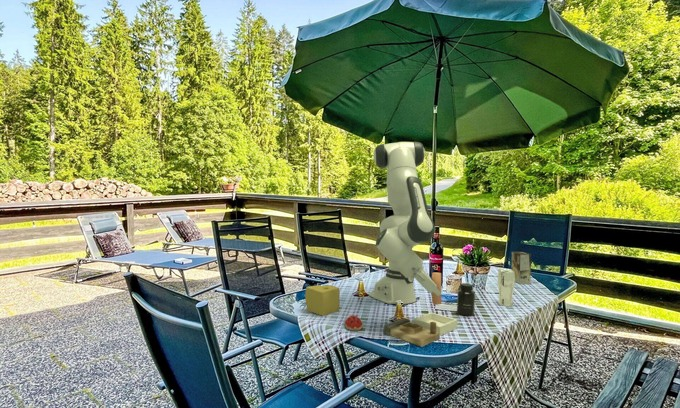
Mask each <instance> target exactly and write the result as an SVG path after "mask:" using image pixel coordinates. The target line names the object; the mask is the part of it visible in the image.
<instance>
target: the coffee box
mask: <svg viewBox="0 0 680 408" xmlns="http://www.w3.org/2000/svg"><path fill="white" fill-rule="evenodd" d="M531 261H532V254H531V253H527V252H524V251H511V264H510V265H511V269H510V270H513V271H514V274H515V283H517V284H519V285H529V284H530V285H531V271H532V270H531V267H532V266H531V265H532V264H531V263H532V262H531Z"/></svg>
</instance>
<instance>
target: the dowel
mask: <svg viewBox="0 0 680 408" xmlns="http://www.w3.org/2000/svg"><path fill="white" fill-rule="evenodd" d="M431 279H432V280H433V281H434V283H435V284H436V285H437V289H438V290H439V291H440V292H441V294H440V295H439V296H437V295H436V294H435V293H434V292H431V295H432V296H431V303H432V304H433V305H441V304H442V272H431Z"/></svg>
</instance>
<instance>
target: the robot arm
mask: <svg viewBox="0 0 680 408" xmlns="http://www.w3.org/2000/svg"><path fill="white" fill-rule="evenodd" d="M372 156H373V161H374V164H375V166H376V167H378V168H380V169H387V173H386V191H387V192H386V193H387V203H388V204H389V206H390V207H391V208H392V211H393V215H390V216H388V217H386V218H384V219H383V220H381V223H380V224H379V232H380V234H378V236H377V238H376V240H375V246H376V248H377V250H378V251H379V252H380V253H381V255H382V256H384V258H385V259H387V261H388V268H386V269H384V270H383V272H384V273H385V276H383V277H381V279H379V280H377V281H376V283H375V284H374V288H373V291H371V292H369V294H368V296H369V297H372V298H373V299H376V300H379V301H380V302H383V303H386V304H396V303H395V301H397V300H401V301H402V302H403V305H404V304H412V303H415V302H416V301H417V297H416V292H415V285H414V279H415V280H416V281H417V283H419V284H420V285H421V286H422V287H423V288H424V289H425V291H427V292H428V293H430V294H432V292H434V293H435V294H436V295H437V296H439V295H440V294H441V295H442V291H441V292H440V291H439V290H438V289H437V285H436V284H435V283H434V281H433V280H432V277H431V276H430V275H428V273H427V272H426V270H425V269H424V268H425V266H424V260H423V259H422V258H421V257H420V256H419V255H418V254H417V253H416V252H415V251H413V248H414V247H416V246H418V245H420V244H422V243H425V242H428V241H430V240H431V239H432V238H433V237H434V235H435V232H436V230H435V229H436V228H435V223H434V220H433V219H432V216H431V214H430V212H429V209H428V203H427V200H426V194H425V191H424V187H423V184H422V181H421V179H419V177H418V172H417V167H419V166H421V164H423V162H424V161H425V156H426V150H425V147H424V144H423V143H422V142H419V141H398V142H391V143H386V144H384V143H382V144H378V145H377V146H376V147H375V148H374V150H373V155H372Z"/></svg>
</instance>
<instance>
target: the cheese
mask: <svg viewBox="0 0 680 408" xmlns="http://www.w3.org/2000/svg"><path fill="white" fill-rule="evenodd" d="M304 296H305V298H304V299H305V304H306V305H305V307H306V311H307V312H309V311H310V312H309V313H312V312H314V313H313V314H315V313H316V315H318V314H319V316H321V315H322V317H324V316H327V315H329V314H333V313H337V312H339V311H340V297H341V295H340V287H337V286H334V285H330V284H327V285H320V284H319V285H318V284H317V285H310V286H306V288H305V295H304ZM323 315H324V316H323Z"/></svg>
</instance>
